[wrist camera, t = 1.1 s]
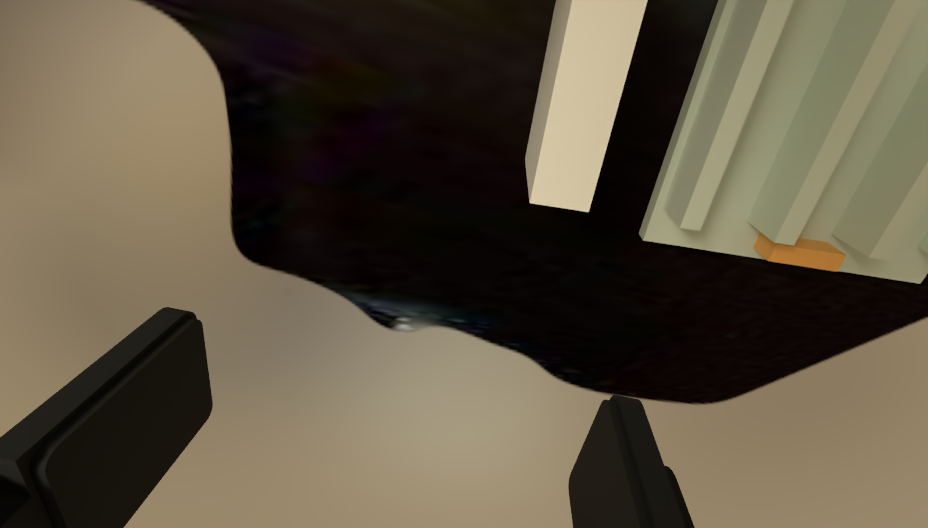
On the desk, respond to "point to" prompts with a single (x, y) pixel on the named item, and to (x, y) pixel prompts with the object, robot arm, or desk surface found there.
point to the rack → (804, 139)
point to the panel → (579, 98)
